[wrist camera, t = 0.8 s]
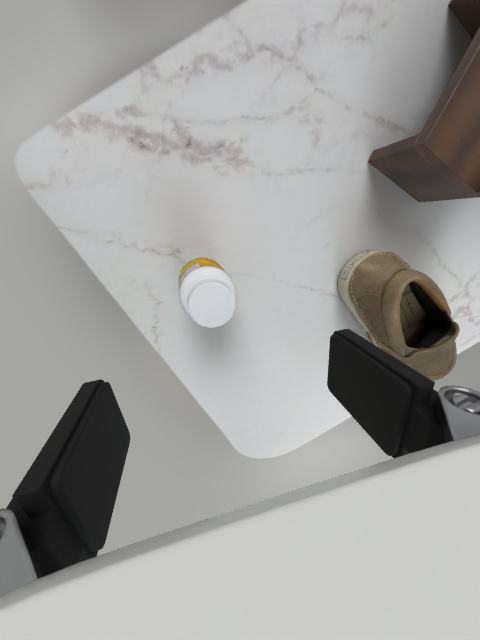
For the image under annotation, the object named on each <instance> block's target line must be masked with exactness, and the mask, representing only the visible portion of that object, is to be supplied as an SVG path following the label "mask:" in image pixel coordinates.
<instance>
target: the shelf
mask: <svg viewBox="0 0 480 640" xmlns="http://www.w3.org/2000/svg"><path fill="white" fill-rule="evenodd" d="M449 6H450V7H451V8H452V10H453V11H454V13H455V14H456V15H457V17H458V18H459V20H460V21H461V22H462V24H463V25H464V27H465V28H466V29H467V31H468V32H469V34H470V35H471V36H472V38H473V40H472V41H471V43H470V45H469V47H468V49H467V50H466V52H465V54H464V56H463V58H462V59H461V61H460V63H459V65H458V67H457V68H456V70H455V72H454V74H453V76H452V77H451V79H450V81H449V83H448V85H447V86H446V88H445V90H444V92H443V94H442V96H441V97H440V99H439V101H438V103H437V105H436V106H435V108H434V110H433V112H432V114H431V115H430V117H429V119H428V121H427V123H426V124H425V126H424V128H423V130H422V132H421V133H420V134H418V135H415V136H412V137H410V138H407V139H404V140H402V141H399V142H396V143H393V144H391V145H388V146H385V147H382V148H380V149H377V150H374V151H373V153H372V155H371V156H370V158H369V160H368V162H369V163H370V164H372V165H373V166H374V167H375V168H377V169H378V170H379V171H381V172H382V173H383V174H384V175H386V176H387V177H388V178H389V179H391V180H392V181H393V182H395V183H396V184H397V185H398V186H400V187H401V188H402V189H403V190H405V191H406V192H407V193H409V194H410V195H411V196H412V197H414V198H415V199H416V200H417V201H419V202H427V201H439V200H451V199H463V198H474V197H480V0H451V1H450V3H449Z"/></svg>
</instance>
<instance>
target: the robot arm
mask: <svg viewBox="0 0 480 640" xmlns="http://www.w3.org/2000/svg"><path fill="white" fill-rule="evenodd" d="M434 384H435V382H433V381H432V380H430V379H429V378H427V377H425V376H424V375H422V374H420V373H419V372H417V371H416V370H414V369H412V368H411V367H409V366H408V365H406V364H404V363H403V362H401V361H400V360H398V359H396V358H395V357H393V356H391V355H390V354H388V353H387V352H385V351H383V350H382V349H380V348H379V347H377V346H375V345H374V344H372V343H370V342H369V341H367V340H366V339H364V338H362V337H361V336H359V335H358V334H356V333H354V332H353V331H351V330H349V329H344V330H339V331H335V332H334V333H333V335H332V336H331V338H330V351H329V366H328V382H327V385H328V388H329V390H330V392H331V393H332V394H333V395H334V396H335V397H336V399H337V400H338V401H339V402H340V403H341V404H342V405H343V406H344V407H345V409H346V410H347V411H348V412H349V413H350V414H351V415H352V416H353V418H354V419H355V420H356V421H357V422H358V423H359V424H360V425H361V427H362V428H363V429H364V430H365V431H366V432H367V433H368V434H369V436H371V438H372V439H373V440H374V441H375V442H376V443H377V444H378V446H379V447H380V448H381V449H382V450H383V451H384V452H385V453H386V454H387V455H389V456H392V457H393V458H394V459H391V460H388V461H385V462H382V463H379V464H375V465H372V466H369V467H366V468H363V469H360V470H357V471H353V472H350V473H347V474H344V475H341V476H338V477H335V478H332V479H328V480H325V481H322V482H319V483H316V484H313V485H310V486H307V487H304V488H300V489H297V490H295V491H291V492H288V493H285V494H282V495H279V496H276V497H273V498H270V499H267V500H264V501H260V502H258V503H254V504H252V505H248V506H245V507H242V508H239V509H236V510H233V511H230V512H227V513H224V514H221V515H218V516H215V517H212V518H209V519H206V520H203V521H200V522H197V523H194V524H191V525H188V526H185V527H182V528H179V529H175V530H172V531H169V532H166V533H163V534H161V535H158V536H154V537H151V538H148V539H145V540H143V541H140V542H137V543H134V544H131V545H128V546H125V547H122V548H119V549H117V550H114V551H111V552H108V553H105V554H102V555H100V556H97V553H98V550H100V549H102V548H103V546H104V544H105V541H106V537H107V533H108V529H109V525H110V521H111V517H112V513H113V509H114V505H115V500H116V496H117V492H118V488H119V484H120V480H121V476H122V472H123V468H124V464H125V460H126V455H127V452H128V447H129V443H130V434H129V431H128V428H127V425H126V423H125V420H124V418H123V416H122V413H121V411H120V408H119V406H118V403H117V401H116V398H115V396H114V393H113V391H112V388H111V386H110V384H109V383H108V382H104V381H103V380H96V381H92V382H86V383H84V384H83V385H82V386H81V388H80V390H79V391H78V393H77V394H76V396H75V398H74V399H73V401H72V402H71V404H70V405H69V407H68V409H67V410H66V412H65V413H64V415H63V417H62V418H61V420H60V421H59V423H58V425H57V426H56V428H55V429H54V431H53V432H52V434H51V436H50V437H49V439H48V440H47V442H46V444H45V445H44V447H43V448H42V450H41V452H40V453H39V455H38V456H37V458H36V460H35V461H34V462H33V464H32V466H31V468H30V469H29V470H28V472H27V474H26V475H25V477H24V478H23V480H22V482H21V483H20V485H19V486H18V488H17V489H16V491H15V493H14V495H13V496H12V497H13V499H12V500H11V502H10V503H9V505H8V506H7V508H6V509H0V640H480V392H478V391H475V390H472V389H469V388H465V387H460V386H445V387H442V388H440V390H439V391H438V392H437V391H435V390H434V389H433V387H434Z"/></svg>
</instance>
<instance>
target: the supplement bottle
mask: <svg viewBox="0 0 480 640" xmlns="http://www.w3.org/2000/svg"><path fill="white" fill-rule="evenodd" d="M179 299H180V303H181V306H182V308H183V309H184V311H185V312H186V313H187V315H189V316H190V317H191V318H192V319H193V320H194V321H195V322H196V323H197V324H199V325H201V326H203V327H207V328H215V327H219V326H222V325H224V324H225V323H227V322H228V321H229V320H230V319H231V317H232V316H233V314H234V312H235V308H236V287H235V285H234V282H233V281H232V279H231V277H230V276H229V275H228V274H227V273H226V272H225V271H224V270H223V269H222V268H221V267H220V265H219V264H217V263H216V262H215V261H213V260H211V259H209V258H195V259H193V260H191V261H189V262H188V263H186V264H185V266H184V267H183V268H182V270H181V273H180V276H179Z"/></svg>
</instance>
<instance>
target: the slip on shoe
mask: <svg viewBox="0 0 480 640" xmlns="http://www.w3.org/2000/svg"><path fill="white" fill-rule="evenodd" d="M338 292H339V295H340V297H341V298H342V300H343V301H344V303H345V304H346V306H347V307H348V308H349V309H350V311H351V312H352V313H353V315H354V316H355V317H356V319H357V320H358V321H359V323H360V324H361V325H362V326H363V328H364V329H365V331H367V333H368V336H369V338H370V340H371V342H372V344H374V345H375V346H377V347H379V348H380V349H382V350H383V351H385V352H387V353H388V354H390V355H391V356H393V357H395V358H396V359H398V360H400V361H401V362H403V363H404V364H406V365H408V366H409V367H411V368H412V369H414V370H416V371H417V372H419V373H420V374H422V375H424V376H425V377H427V378H429V379H430V380H432V381H435V380H438V379H441V378H443V377H444V376H446V375H447V374H448V373H449V372H450V371H451V370H452V369H453V367H454V366H455V363H456V343H455V339H456V337H457V336H458V334H459V331H460V329H459V325H458V324H457V323H456V322H454V321H453V319H452V318H451V311H450V309H449V306H448V304H447V301H446V299H445V297H444V295H443V293H442V291H441V290H440V289H439V287H438V286H437V285H436V283H435V282H434V281H433V280H432V279H431V278H429V277H428V276H427V275H425V274H424V273H421V272H419V271H415V270H412V269H411V268H410V267H409V266H408V265H407V264H406V262H404V261H403V260H402V259H401V258H400V257H398V256H397V255H395V253H392V252H383V251H374V250H367V251H364V252H362V253H360V254H358V255H356V256H355V257H353V258H352V259H351V260H350V261H349V262H348V263H347V264H346V265H345V267H344V268H343V269H342V271H341V273H340V275H339V279H338Z"/></svg>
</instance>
